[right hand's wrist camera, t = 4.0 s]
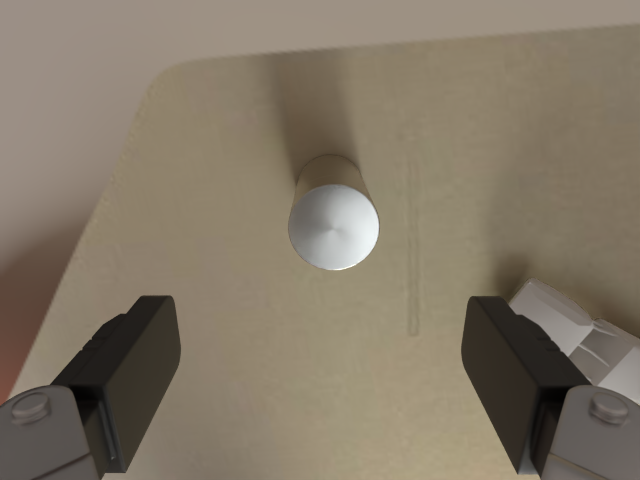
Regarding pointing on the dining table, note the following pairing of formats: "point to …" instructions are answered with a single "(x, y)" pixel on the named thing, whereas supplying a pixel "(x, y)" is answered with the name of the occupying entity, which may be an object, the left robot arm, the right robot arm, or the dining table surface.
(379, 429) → the dining table surface
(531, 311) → the white segmented block
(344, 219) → the tin
